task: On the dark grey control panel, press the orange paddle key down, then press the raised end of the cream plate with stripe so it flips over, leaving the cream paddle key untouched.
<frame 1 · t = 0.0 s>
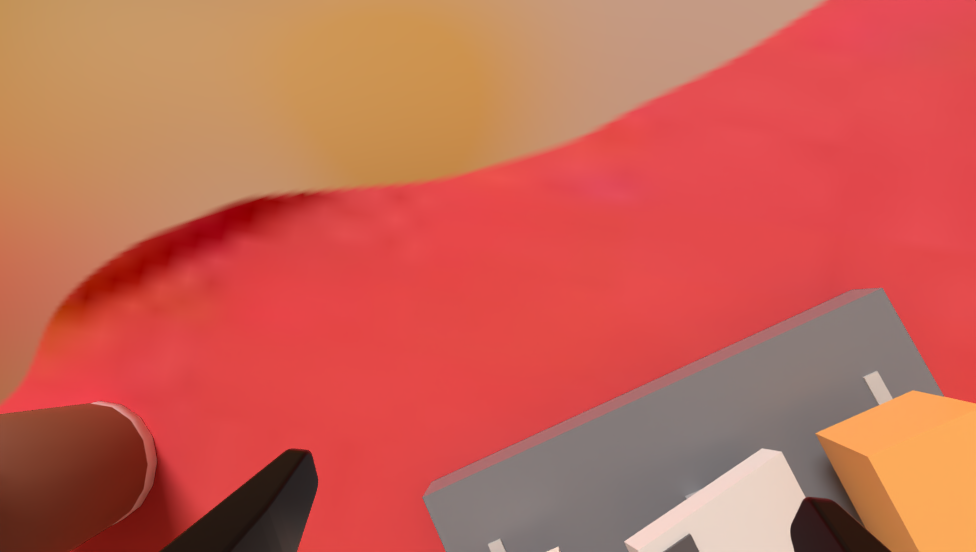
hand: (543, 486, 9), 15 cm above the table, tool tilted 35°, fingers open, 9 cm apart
coffee cup: (104, 461, 26), on the table
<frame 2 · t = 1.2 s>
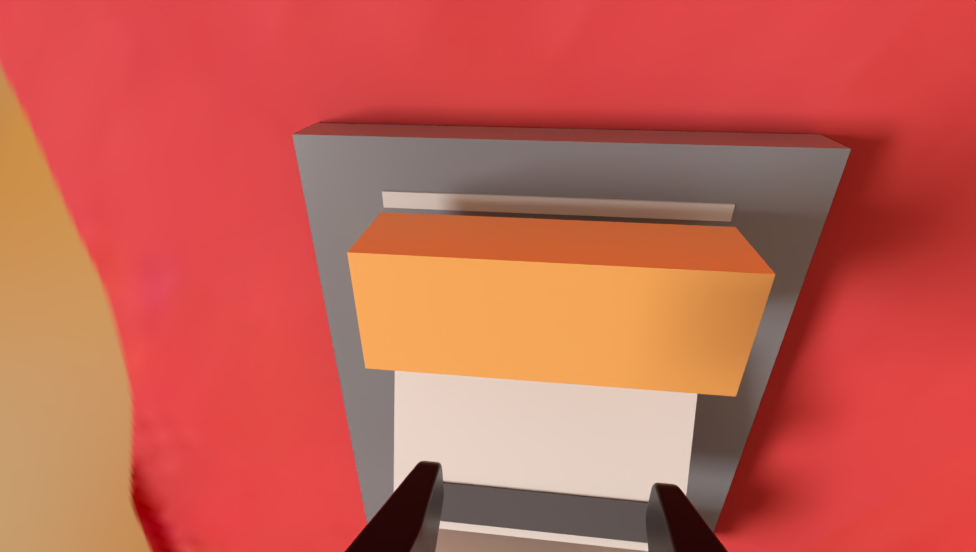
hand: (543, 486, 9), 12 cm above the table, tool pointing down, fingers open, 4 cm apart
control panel: (539, 367, 23), on the table
orange key: (547, 298, 15), point 5 cm above the table, slide at 0.0 cm
cream plate with stripe: (537, 448, 19), point 5 cm above the table, hinge at 20.0°
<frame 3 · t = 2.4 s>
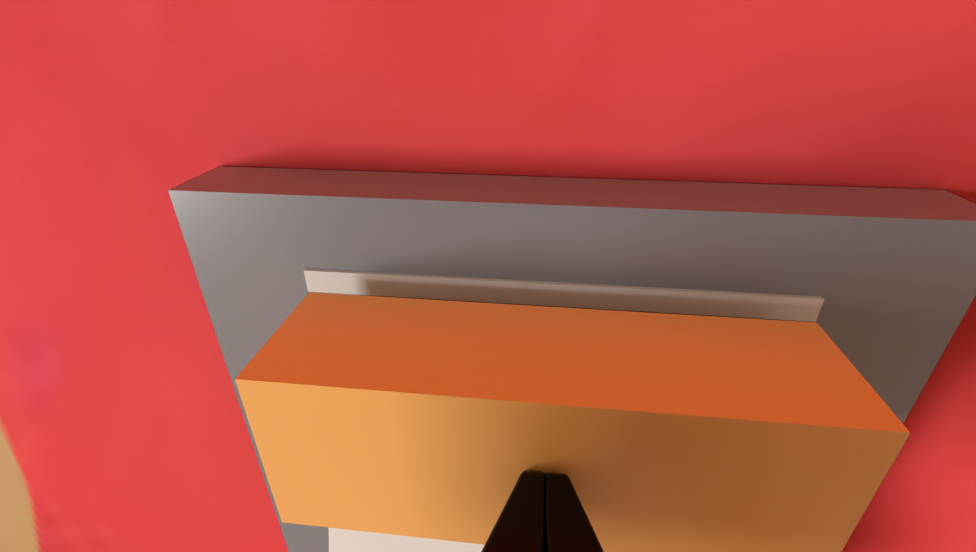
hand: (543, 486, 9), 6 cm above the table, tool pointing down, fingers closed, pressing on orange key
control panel: (535, 474, 17), on the table
orange key: (543, 424, 10), point 4 cm above the table, slide at 0.9 cm, touching gripper
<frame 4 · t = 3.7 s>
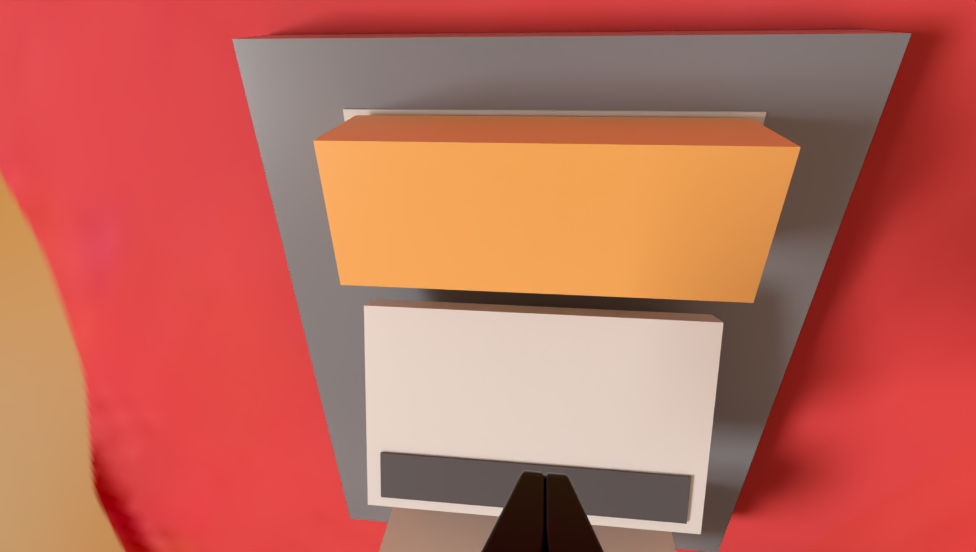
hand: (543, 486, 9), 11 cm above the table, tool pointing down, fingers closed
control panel: (535, 328, 20), on the table
orange key: (541, 202, 13), point 4 cm above the table, slide at 1.4 cm
cream plate with stripe: (532, 414, 16), point 5 cm above the table, hinge at 20.0°
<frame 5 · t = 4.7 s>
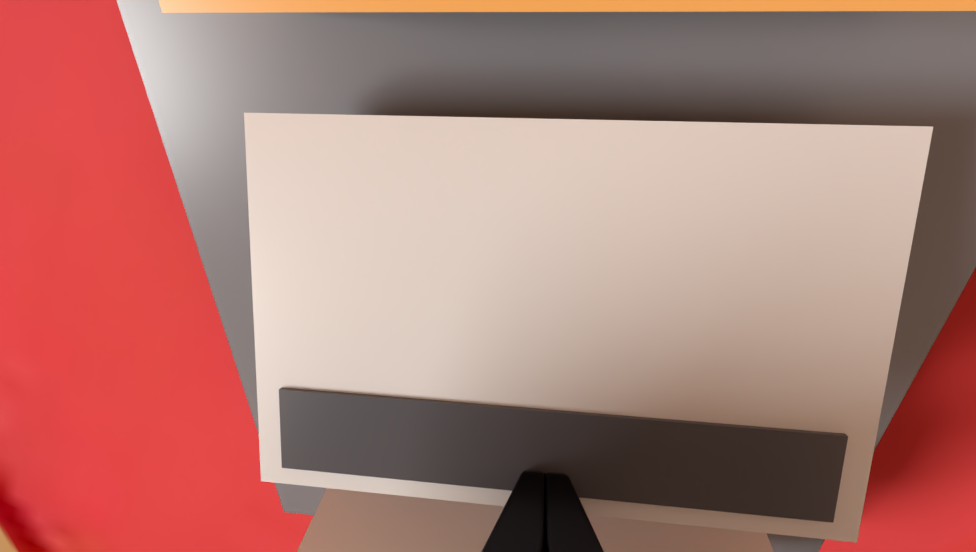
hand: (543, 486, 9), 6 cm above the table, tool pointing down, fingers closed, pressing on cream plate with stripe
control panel: (551, 220, 13), on the table
cream plate with stripe: (550, 321, 9), point 5 cm above the table, hinge at 19.6°, touching gripper
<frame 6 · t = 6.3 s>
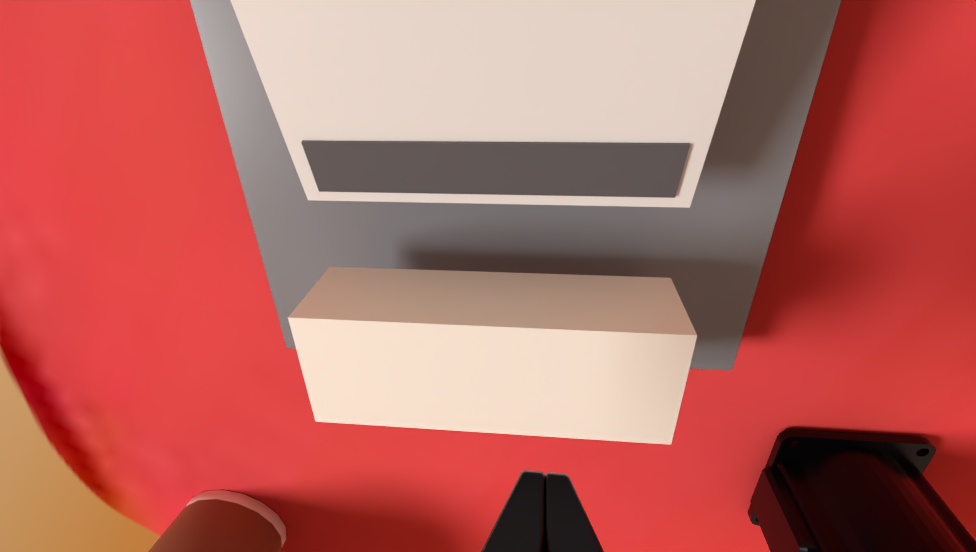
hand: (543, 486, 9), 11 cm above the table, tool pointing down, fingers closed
cream key: (490, 350, 15), point 5 cm above the table, slide at 0.0 cm
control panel: (502, 56, 16), on the table
coffee cup: (239, 519, 31), on the table
cream plate with stripe: (487, 76, 12), point 5 cm above the table, hinge at -16.6°
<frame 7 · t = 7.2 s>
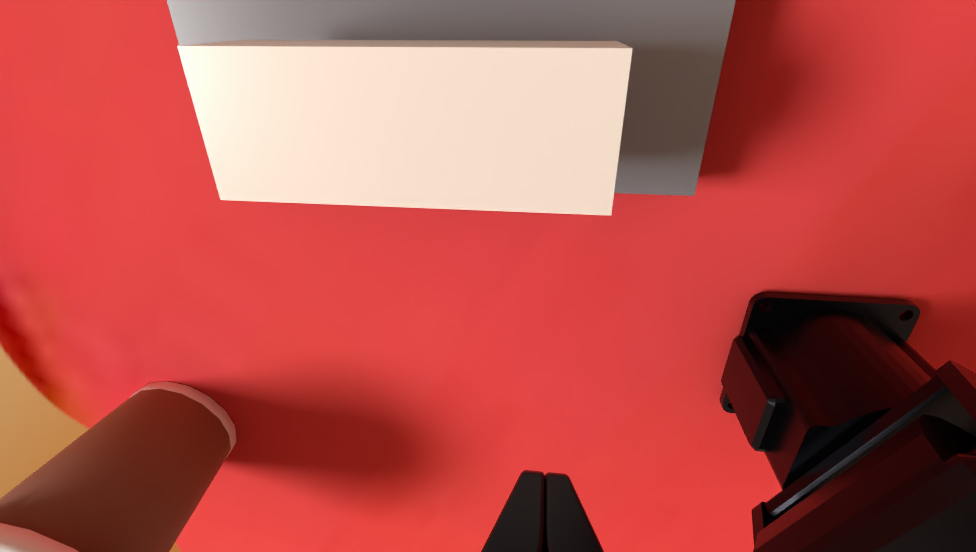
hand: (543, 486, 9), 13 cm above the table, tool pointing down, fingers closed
cream key: (415, 121, 14), point 5 cm above the table, slide at 0.0 cm
coffee cup: (187, 419, 29), on the table
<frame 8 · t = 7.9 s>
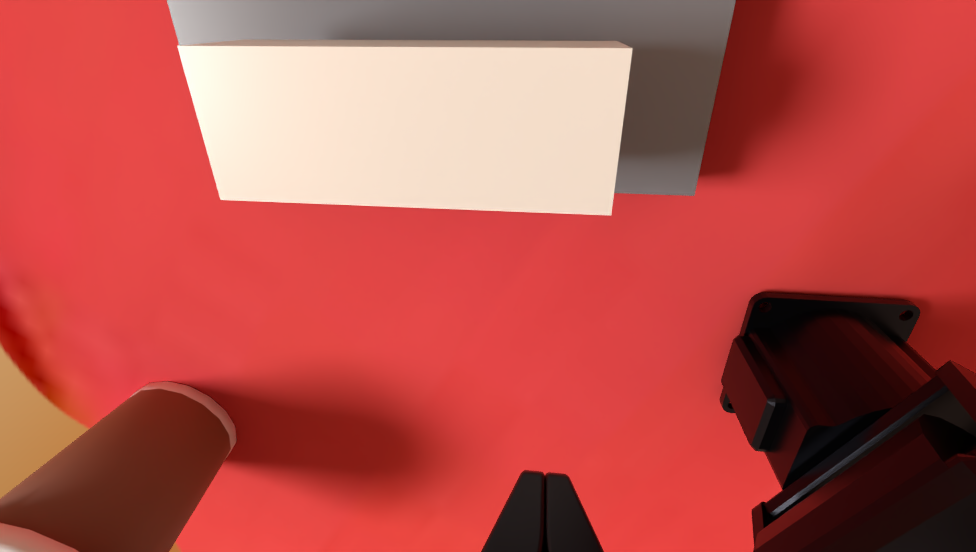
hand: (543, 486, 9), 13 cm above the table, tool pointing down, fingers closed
cream key: (415, 121, 14), point 5 cm above the table, slide at 0.0 cm
coffee cup: (187, 419, 29), on the table
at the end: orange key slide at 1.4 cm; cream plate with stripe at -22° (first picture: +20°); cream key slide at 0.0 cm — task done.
